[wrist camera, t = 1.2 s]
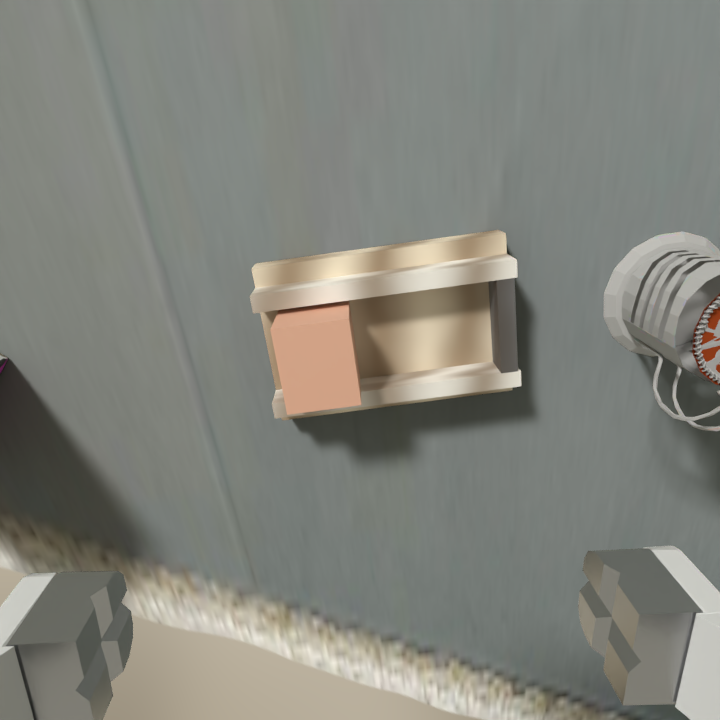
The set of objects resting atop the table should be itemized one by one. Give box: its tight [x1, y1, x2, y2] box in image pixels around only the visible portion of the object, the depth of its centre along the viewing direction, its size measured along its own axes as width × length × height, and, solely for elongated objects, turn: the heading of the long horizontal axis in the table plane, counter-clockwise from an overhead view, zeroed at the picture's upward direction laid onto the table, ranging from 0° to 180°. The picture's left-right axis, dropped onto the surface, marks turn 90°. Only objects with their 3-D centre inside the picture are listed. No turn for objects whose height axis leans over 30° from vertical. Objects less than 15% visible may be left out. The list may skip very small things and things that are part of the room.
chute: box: [250, 230, 521, 420], centre depth 41 cm, size 18×12×4 cm, turn 98°
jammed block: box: [270, 300, 362, 415], centre depth 39 cm, size 5×6×6 cm
